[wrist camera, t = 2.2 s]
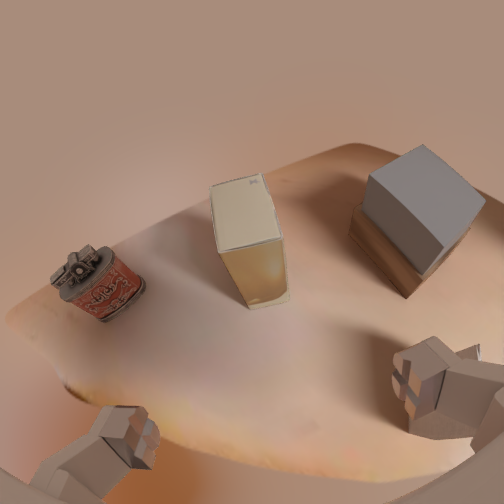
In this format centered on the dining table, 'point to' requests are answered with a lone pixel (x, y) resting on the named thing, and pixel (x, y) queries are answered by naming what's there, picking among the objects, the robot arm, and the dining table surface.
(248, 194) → the skincare box
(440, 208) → the tower top block
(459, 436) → the white red printed carton
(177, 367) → the dining table surface
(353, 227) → the tower base block
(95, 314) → the lighter
